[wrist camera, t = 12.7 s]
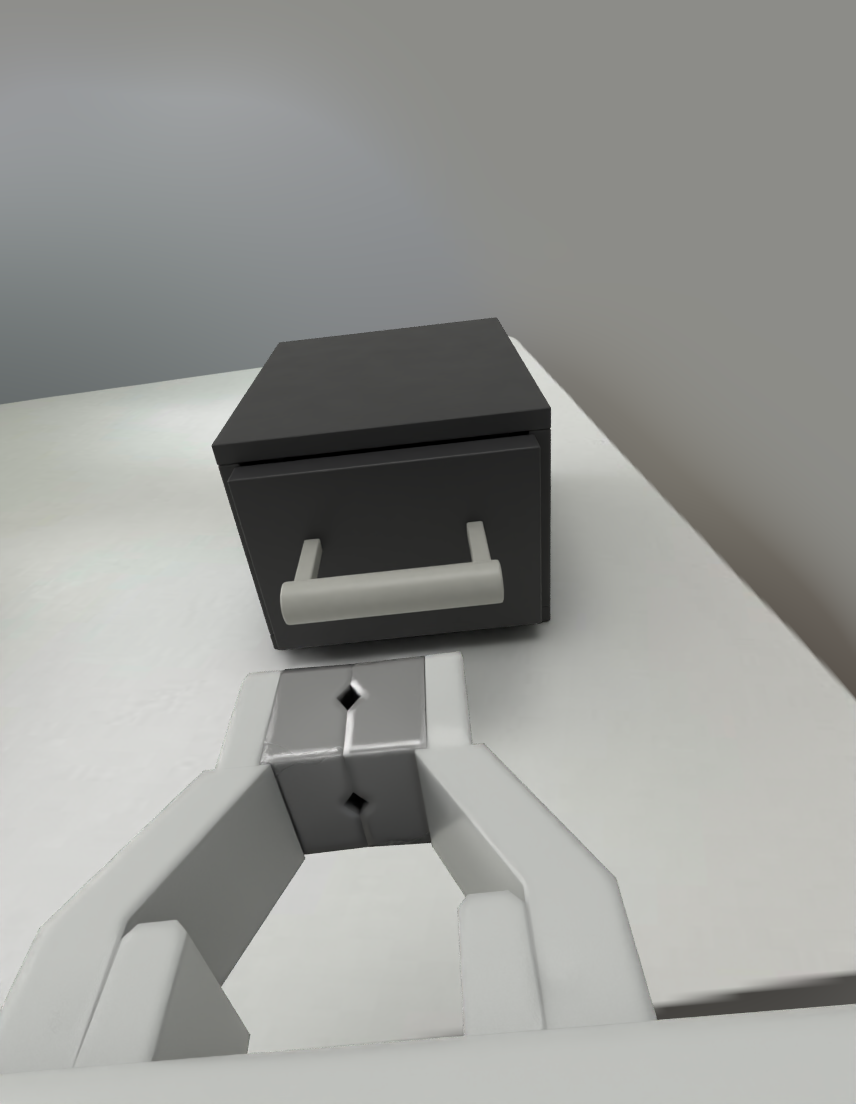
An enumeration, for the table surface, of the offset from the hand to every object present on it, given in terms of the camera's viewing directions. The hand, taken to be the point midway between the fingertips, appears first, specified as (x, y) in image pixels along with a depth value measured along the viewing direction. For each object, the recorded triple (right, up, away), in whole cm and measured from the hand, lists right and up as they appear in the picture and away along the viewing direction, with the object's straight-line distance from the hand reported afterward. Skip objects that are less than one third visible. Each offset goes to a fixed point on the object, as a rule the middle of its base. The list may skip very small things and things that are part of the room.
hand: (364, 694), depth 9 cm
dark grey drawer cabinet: (0, +2, +24) cm, 25 cm away
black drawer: (0, +1, +21) cm, 21 cm away
